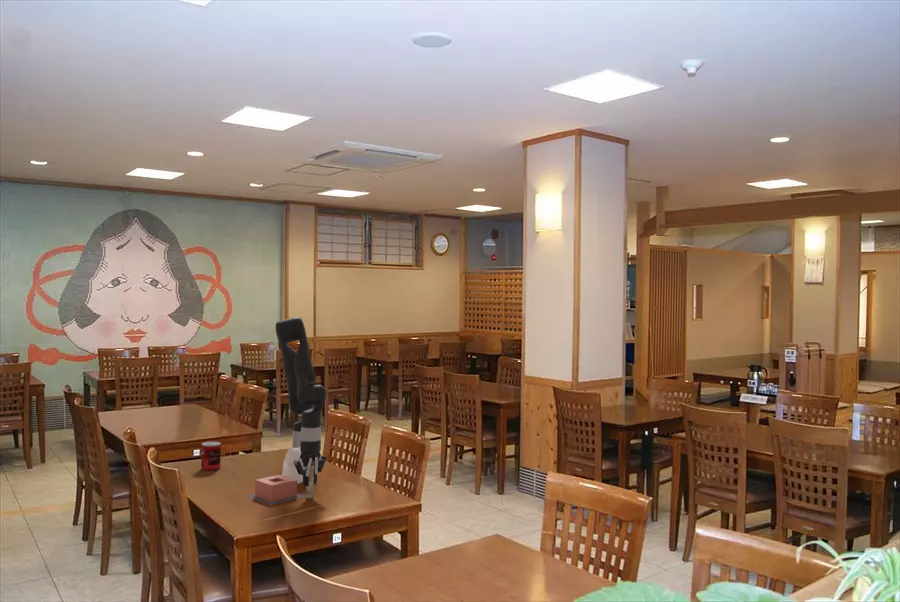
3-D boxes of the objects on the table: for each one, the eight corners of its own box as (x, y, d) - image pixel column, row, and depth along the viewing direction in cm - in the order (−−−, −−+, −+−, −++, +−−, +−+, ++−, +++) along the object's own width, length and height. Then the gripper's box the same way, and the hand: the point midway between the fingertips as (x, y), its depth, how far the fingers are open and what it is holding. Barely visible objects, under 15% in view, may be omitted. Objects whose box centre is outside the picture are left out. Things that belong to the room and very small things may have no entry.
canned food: (206, 466, 306) (206, 441, 306) (223, 467, 305) (224, 442, 305) (197, 470, 298) (198, 444, 298) (215, 471, 297) (215, 445, 297)
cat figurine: (291, 488, 274) (292, 450, 274) (273, 481, 282) (274, 444, 282) (310, 483, 281) (311, 446, 280) (291, 477, 289) (292, 441, 289)
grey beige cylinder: (310, 496, 262) (311, 459, 262) (315, 498, 260) (315, 460, 260) (304, 498, 260) (304, 460, 260) (308, 500, 258) (309, 462, 258)
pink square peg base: (280, 490, 269) (280, 474, 269) (296, 496, 261) (297, 480, 261) (255, 495, 260) (255, 479, 260) (271, 502, 253) (271, 485, 253)
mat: (282, 488, 272) (282, 487, 272) (306, 497, 261) (306, 496, 261) (245, 496, 260) (245, 495, 260) (269, 505, 249) (269, 504, 249)
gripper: (319, 434, 268) (319, 479, 268) (289, 439, 257) (288, 486, 257) (332, 437, 262) (331, 483, 262) (301, 442, 252) (300, 490, 252)
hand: (309, 484), depth 260 cm, fingers closed on grey beige cylinder, 2 cm apart
